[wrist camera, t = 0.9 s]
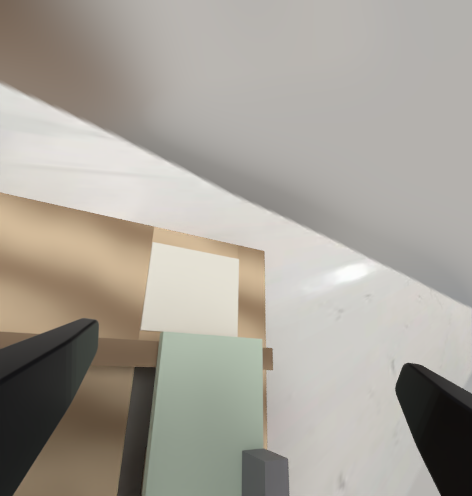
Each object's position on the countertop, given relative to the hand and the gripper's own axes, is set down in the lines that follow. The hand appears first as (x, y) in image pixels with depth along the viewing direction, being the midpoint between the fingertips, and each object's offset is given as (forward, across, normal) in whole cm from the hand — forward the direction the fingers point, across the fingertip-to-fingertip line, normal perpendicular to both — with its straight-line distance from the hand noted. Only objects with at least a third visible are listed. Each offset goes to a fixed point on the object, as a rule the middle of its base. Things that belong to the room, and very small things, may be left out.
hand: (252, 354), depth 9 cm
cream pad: (+16, +3, +6) cm, 17 cm away
